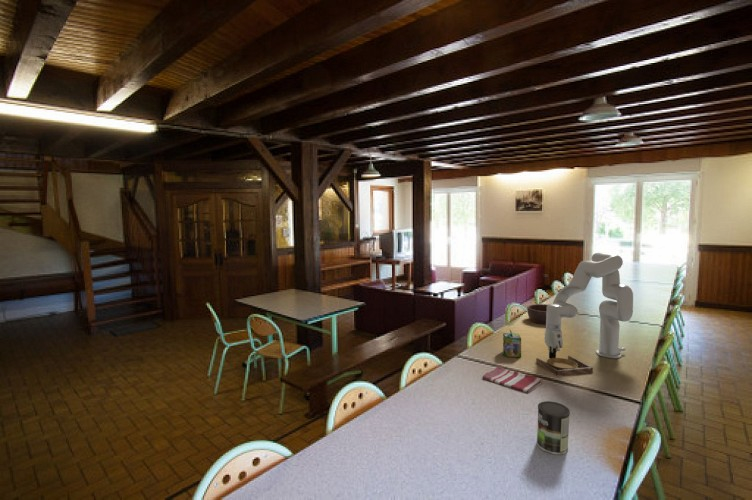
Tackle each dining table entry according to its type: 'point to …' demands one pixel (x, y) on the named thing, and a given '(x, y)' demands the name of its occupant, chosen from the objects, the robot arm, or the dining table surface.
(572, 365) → the plant saucer
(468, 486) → the dining table surface
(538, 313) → the wooden bowl
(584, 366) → the display frame
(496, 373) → the dish towel
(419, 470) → the dining table surface
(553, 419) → the coffee can
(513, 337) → the chalk box
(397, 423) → the dining table surface
